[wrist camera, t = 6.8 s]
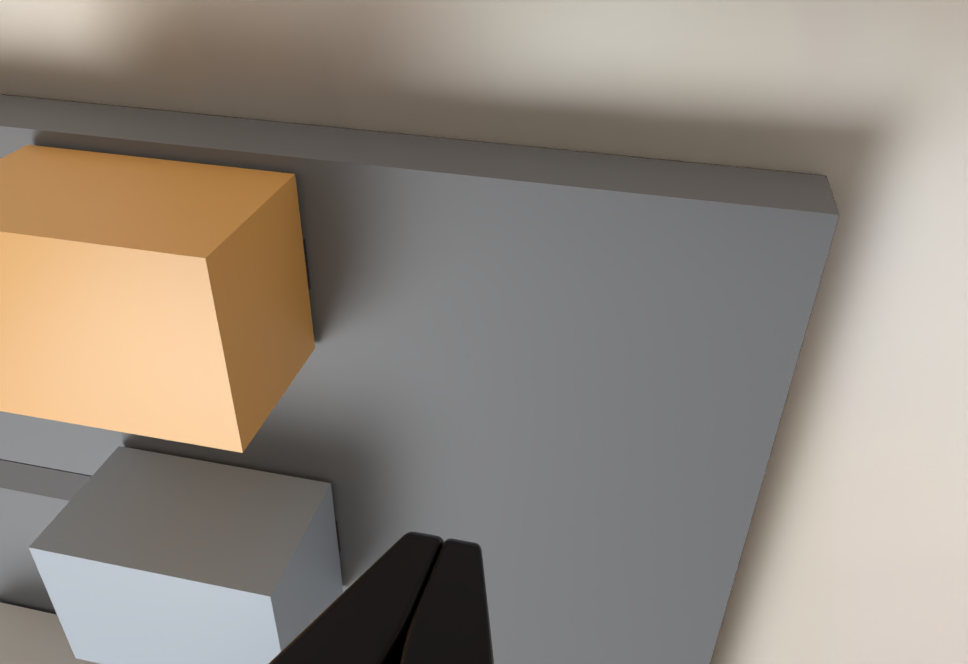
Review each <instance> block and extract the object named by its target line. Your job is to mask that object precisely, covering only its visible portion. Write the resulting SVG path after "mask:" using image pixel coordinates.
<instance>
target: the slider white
mask: <svg viewBox="0 0 968 664" xmlns="http://www.w3.org/2000/svg"><path fill="white" fill-rule="evenodd" d="M0 664H99V663H95V662H90V661H86V660H82V659H77V658H75V656H74V653H73V651H72V649H71V646H70V644H69V642H68V639H67V637H66V635H65V632H64V630H63V627H62V625H61V623H60V620H59V618H58V616H57V615H56V614H52V613H47V612H42V611H38V610H33V609H29V608H24V607H19V606H15V605H10V604H6V603H1V602H0Z"/></svg>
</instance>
